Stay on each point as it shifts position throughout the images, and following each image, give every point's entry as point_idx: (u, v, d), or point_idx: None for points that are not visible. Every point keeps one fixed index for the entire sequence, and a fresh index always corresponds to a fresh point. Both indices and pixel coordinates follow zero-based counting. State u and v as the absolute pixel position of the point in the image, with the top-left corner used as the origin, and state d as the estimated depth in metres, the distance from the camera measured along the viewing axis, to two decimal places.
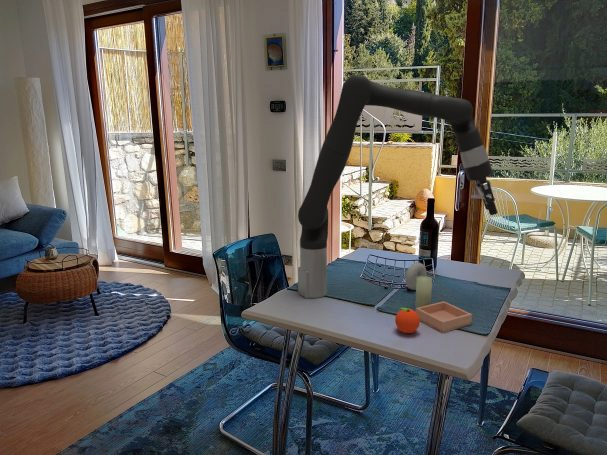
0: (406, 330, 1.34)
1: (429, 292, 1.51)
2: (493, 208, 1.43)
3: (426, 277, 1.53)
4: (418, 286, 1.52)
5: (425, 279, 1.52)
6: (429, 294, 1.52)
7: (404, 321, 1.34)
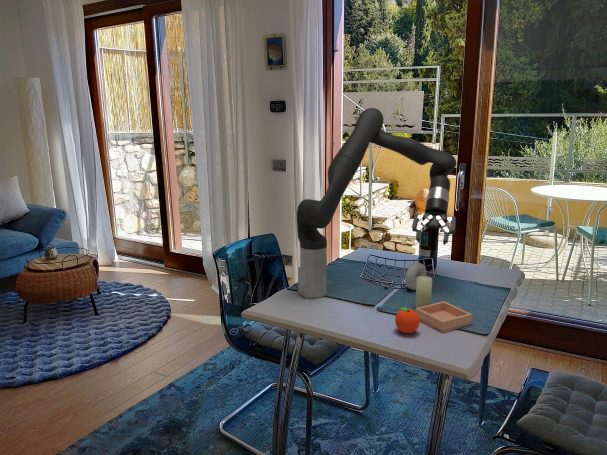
0: (406, 330, 1.34)
1: (429, 292, 1.51)
2: (416, 235, 1.64)
3: (426, 277, 1.53)
4: (418, 286, 1.52)
5: (426, 279, 1.52)
6: (429, 294, 1.52)
7: (404, 321, 1.34)
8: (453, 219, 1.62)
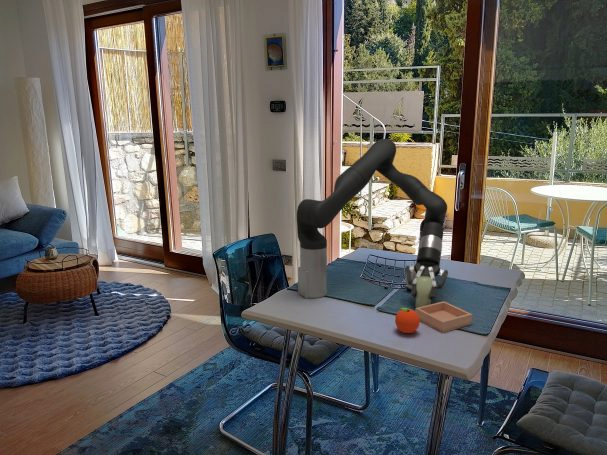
0: (406, 330, 1.34)
1: (429, 292, 1.51)
2: None
3: (426, 277, 1.53)
4: (418, 286, 1.52)
5: (426, 279, 1.52)
6: (429, 294, 1.52)
7: (404, 321, 1.34)
8: (445, 273, 1.53)
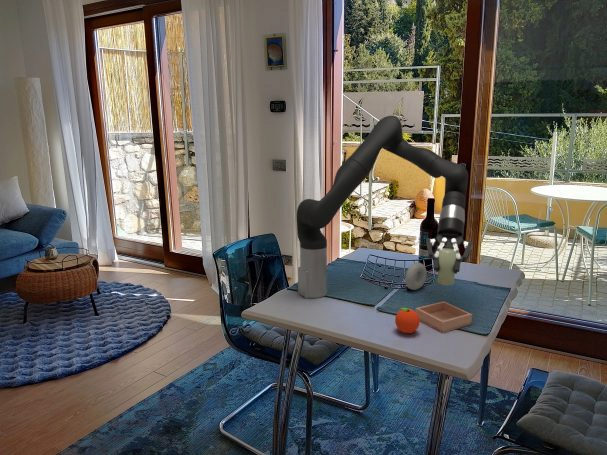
0: (406, 330, 1.34)
1: (453, 265, 1.39)
2: None
3: (449, 249, 1.41)
4: (441, 259, 1.40)
5: (449, 251, 1.40)
6: (453, 267, 1.40)
7: (404, 321, 1.34)
8: (469, 245, 1.41)
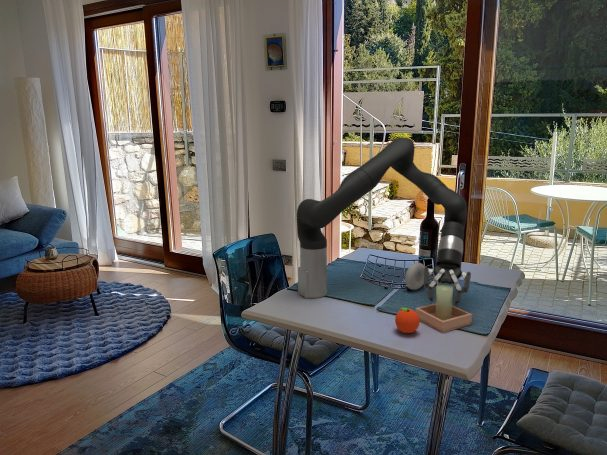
0: (406, 330, 1.34)
1: (450, 302, 1.41)
2: None
3: (446, 286, 1.43)
4: (438, 296, 1.41)
5: (446, 288, 1.41)
6: (450, 304, 1.41)
7: (404, 321, 1.34)
8: (468, 275, 1.42)
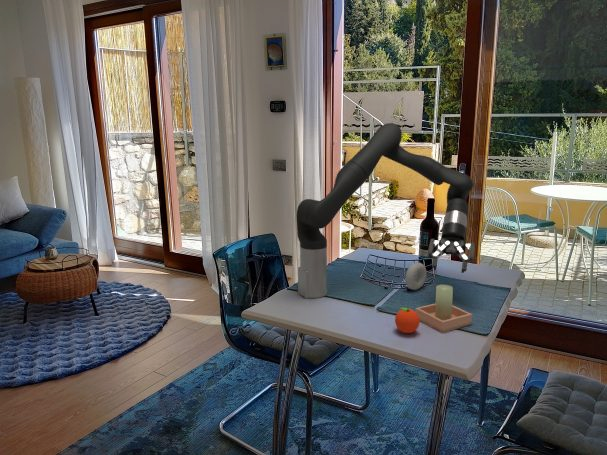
0: (406, 330, 1.34)
1: (450, 302, 1.41)
2: (432, 262, 1.54)
3: (446, 286, 1.43)
4: (438, 296, 1.41)
5: (446, 288, 1.41)
6: (450, 304, 1.41)
7: (404, 321, 1.34)
8: (472, 246, 1.53)
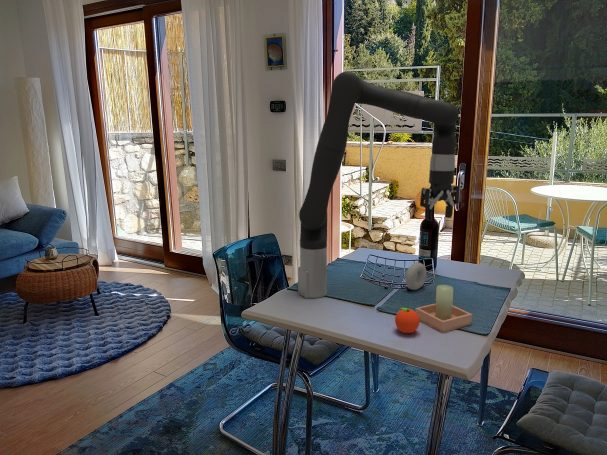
0: (406, 330, 1.34)
1: (450, 302, 1.41)
2: (427, 214, 1.50)
3: (446, 286, 1.43)
4: (438, 296, 1.41)
5: (446, 288, 1.41)
6: (450, 304, 1.41)
7: (404, 321, 1.34)
8: (457, 190, 1.54)
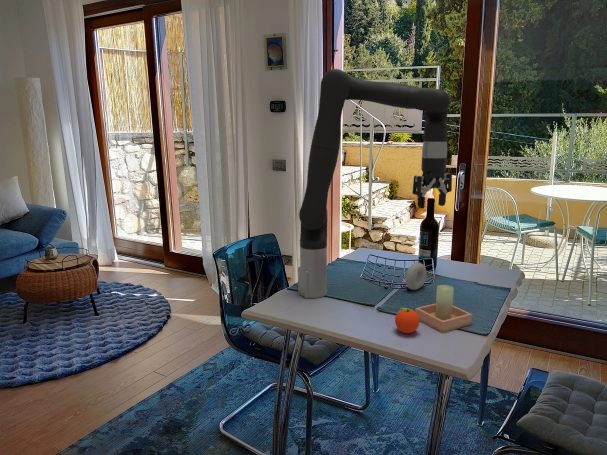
0: (406, 330, 1.34)
1: (451, 302, 1.41)
2: (419, 202, 1.50)
3: (447, 286, 1.43)
4: (439, 296, 1.41)
5: (447, 288, 1.41)
6: (451, 304, 1.41)
7: (404, 321, 1.34)
8: (450, 177, 1.53)
